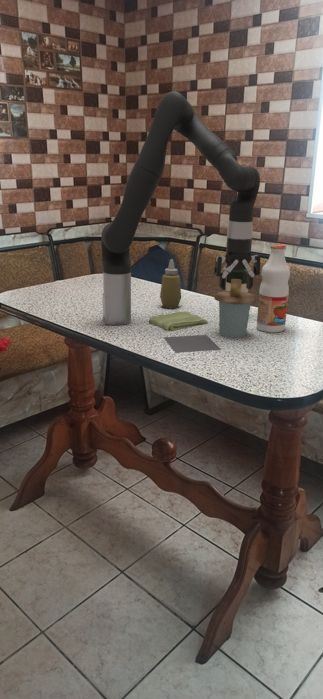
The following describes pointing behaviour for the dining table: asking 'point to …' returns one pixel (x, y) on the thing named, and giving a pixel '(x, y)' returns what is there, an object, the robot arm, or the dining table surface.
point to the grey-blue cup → (233, 319)
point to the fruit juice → (274, 291)
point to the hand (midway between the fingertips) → (235, 289)
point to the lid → (235, 294)
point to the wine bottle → (237, 275)
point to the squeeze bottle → (170, 287)
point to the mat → (191, 343)
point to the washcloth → (177, 320)
